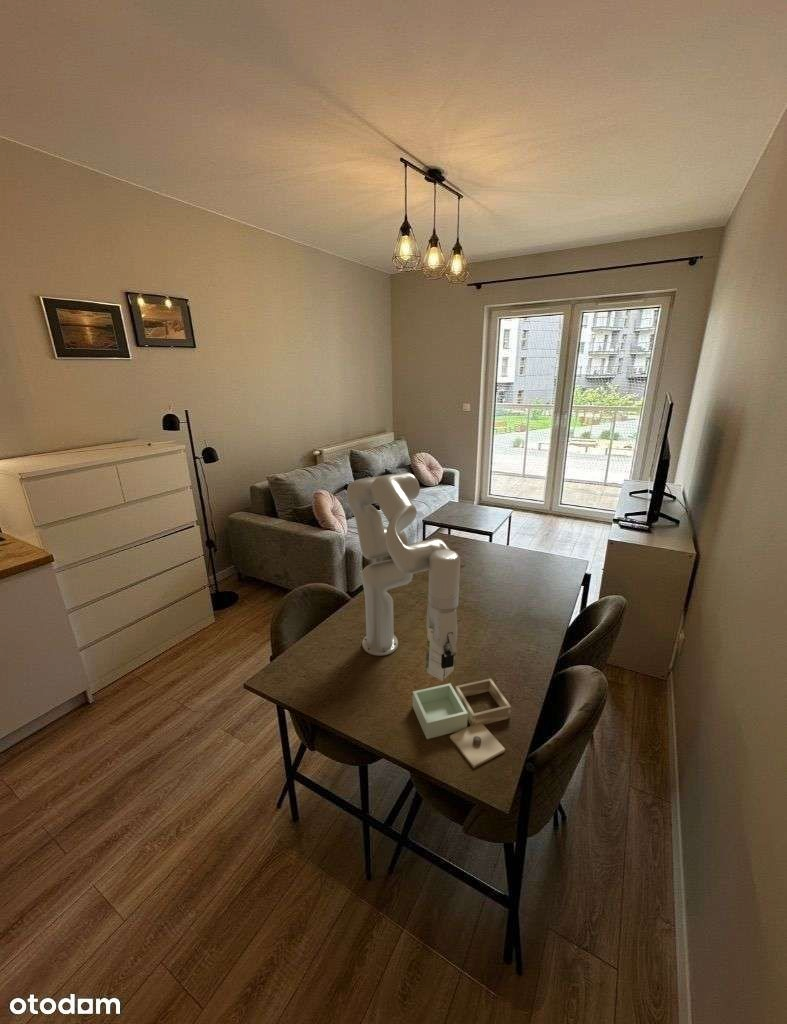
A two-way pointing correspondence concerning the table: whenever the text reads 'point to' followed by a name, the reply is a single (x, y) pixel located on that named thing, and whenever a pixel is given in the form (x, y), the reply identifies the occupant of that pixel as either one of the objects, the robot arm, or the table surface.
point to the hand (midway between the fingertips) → (441, 656)
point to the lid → (477, 744)
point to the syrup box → (436, 658)
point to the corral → (488, 715)
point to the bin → (439, 710)
